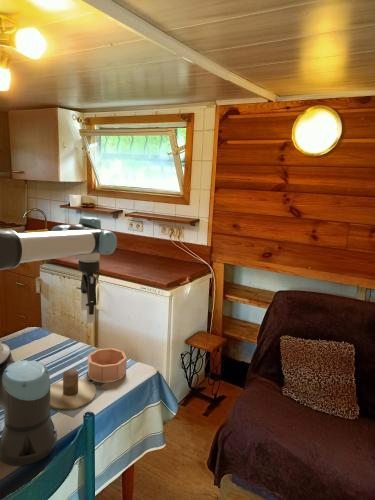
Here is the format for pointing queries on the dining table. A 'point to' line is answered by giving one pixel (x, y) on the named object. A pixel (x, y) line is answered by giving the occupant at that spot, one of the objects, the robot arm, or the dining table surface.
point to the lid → (71, 392)
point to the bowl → (106, 365)
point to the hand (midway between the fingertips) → (87, 315)
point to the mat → (75, 411)
